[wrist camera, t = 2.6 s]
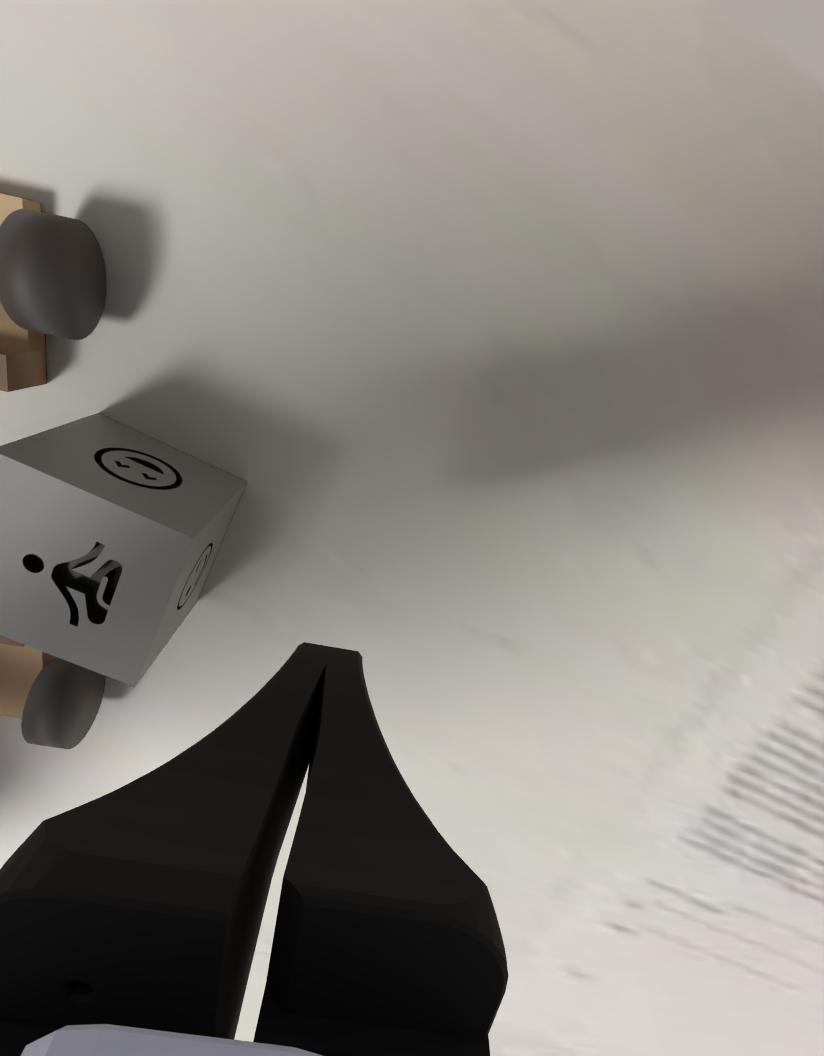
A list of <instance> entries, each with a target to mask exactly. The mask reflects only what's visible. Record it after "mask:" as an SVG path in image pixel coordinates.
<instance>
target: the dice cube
mask: <svg viewBox="0 0 824 1056" xmlns="http://www.w3.org/2000/svg"><path fill="white" fill-rule="evenodd" d="M246 483H247V481H245V480H242V479H240V478H238V477H236V476H234V475H232V474H229V473H227V472H225V471H223V470H221V469H219V468H217V467H214V466H212V465H210V464H208V463H206V462H204V461H201V460H199V459H197V458H195V457H193V456H191V455H188V454H186V453H184V452H182V451H180V450H178V449H175V448H173V447H171V446H169V445H167V444H165V443H163V442H160V441H158V440H156V439H154V438H152V437H150V436H147V435H145V434H143V433H141V432H139V431H137V430H134V429H132V428H130V427H128V426H126V425H124V424H121V423H119V422H117V421H115V420H113V419H111V418H108V417H106V416H104V415H102V414H100V413H97V414H94V415H91V416H88V417H85V418H82V419H79V420H76V421H73V422H71V423H68V424H65V425H62V426H59V427H56V428H53V429H50V430H47V431H44V432H41V433H38V434H35V435H32V436H29V437H26V438H23V439H20V440H17V441H14V442H11V443H8V444H5V445H3V446H0V635H1V636H4V637H6V638H9V639H11V640H14V641H17V642H19V643H22V644H24V645H27V646H30V647H32V648H35V649H37V650H40V651H43V652H45V653H48V654H50V655H53V656H55V657H58V658H61V659H63V660H66V661H68V662H71V663H74V664H76V665H79V666H81V667H84V668H87V669H89V670H92V671H94V672H97V673H99V674H102V675H105V676H107V677H110V678H112V679H115V680H118V681H120V682H123V683H125V684H128V685H131V686H133V687H135V686H136V685H137V683H138V682H139V681H140V679H141V678H142V676H143V675H144V674H145V672H146V671H147V670H148V668H149V667H150V666H151V664H152V663H153V661H154V660H155V659H156V657H157V656H158V655H159V653H160V652H161V650H162V649H163V648H164V646H165V645H166V644H167V642H168V641H169V639H170V638H171V637H172V635H173V634H174V633H175V631H176V630H177V629H178V627H179V626H180V624H181V623H182V622H183V620H184V619H185V618H186V616H187V615H188V613H189V612H190V611H191V609H192V608H193V607H194V605H195V604H196V603H197V601H198V599H199V596H200V594H201V591H202V589H203V587H204V584H205V582H206V579H207V577H208V575H209V572H210V570H211V567H212V565H213V563H214V560H215V558H216V555H217V553H218V551H219V548H220V546H221V543H222V541H223V539H224V536H225V534H226V531H227V529H228V527H229V524H230V522H231V519H232V517H233V515H234V512H235V510H236V507H237V505H238V503H239V500H240V498H241V495H242V493H243V491H244V488H245V486H246Z"/></svg>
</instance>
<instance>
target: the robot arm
mask: <svg viewBox="0 0 824 1056" xmlns="http://www.w3.org/2000/svg"><path fill="white" fill-rule="evenodd" d="M308 765H309V770H308V778H307V787H306V793H305V797H304V801H303V805H302V809H301V813H300V817H299V821H298V825H297V829H296V832H295V836H294V840H293V844H292V847H291V851H290V855H289V858H288V862H287V866H286V869H285V873H284V877H283V883H282V889H281V895H280V901H279V907H278V914H277V920H276V926H275V932H274V938H273V944H272V950H271V957H270V963H269V969H268V975H267V981H266V987H265V991H264V996H263V1000H262V1005H261V1009H260V1014H259V1018H258V1023H257V1027H256V1032H255V1037H254V1042H247V1041H239V1040H234V1037H235V1033H236V1029H237V1024H238V1020H239V1016H240V1011H241V1007H242V1003H243V998H244V994H245V990H246V985H247V981H248V977H249V973H250V968H251V964H252V960H253V956H254V951H255V947H256V943H257V938H258V934H259V930H260V926H261V922H262V917H263V913H264V909H265V905H266V901H267V896H268V892H269V888H270V884H271V880H272V876H273V872H274V869H275V866H276V862H277V859H278V855H279V852H280V849H281V846H282V843H283V840H284V837H285V834H286V831H287V828H288V825H289V822H290V819H291V816H292V813H293V810H294V807H295V804H296V801H297V798H298V795H299V792H300V789H301V786H302V783H303V780H304V777H305V774H306V771H307V768H308ZM507 980H508V971H507V960H506V954H505V948H504V944H503V940H502V935H501V931H500V928H499V924H498V920H497V916H496V913H495V910H494V906H493V903H492V900H491V897H490V894H489V891H488V888H487V886H486V885H485V883H484V882H483V881H482V880H481V879H480V878H479V877H478V876H477V875H476V874H475V873H474V872H473V871H472V870H471V869H470V868H469V866H468V865H467V864H466V863H465V862H464V861H463V860H462V859H461V858H460V857H459V856H458V855H457V854H456V853H455V852H454V851H453V849H452V848H451V847H450V846H449V845H448V843H447V842H446V841H445V840H444V838H443V837H442V836H441V835H440V833H439V832H438V831H437V829H436V828H435V826H434V825H433V824H432V822H431V821H430V819H429V818H428V816H427V815H426V813H425V812H424V811H423V809H422V808H421V806H420V805H419V803H418V802H417V800H416V799H415V798H414V796H413V794H412V793H411V791H410V789H409V787H408V786H407V784H406V782H405V781H404V779H403V777H402V775H401V773H400V772H399V770H398V768H397V766H396V764H395V762H394V760H393V758H392V756H391V754H390V752H389V750H388V747H387V745H386V743H385V740H384V738H383V736H382V733H381V731H380V728H379V726H378V723H377V720H376V717H375V714H374V711H373V708H372V705H371V702H370V699H369V695H368V692H367V688H366V683H365V679H364V674H363V667H362V656H361V655H360V653H359V652H358V651H352V650H346V649H340V648H335V647H329V646H323V645H317V644H311V643H305V642H304V643H302V644H301V645H299V646H298V647H297V649H296V650H295V651H294V653H293V654H292V655H291V657H290V658H289V659H288V660H287V662H286V663H285V664H284V665H283V666H282V667H281V669H280V670H279V671H278V672H277V673H276V674H275V675H274V676H273V677H272V678H271V679H270V680H269V681H268V682H267V683H266V685H265V686H264V687H263V688H262V689H261V690H260V691H259V692H258V693H257V694H256V695H255V696H254V697H252V698H251V699H250V700H249V701H248V702H247V703H246V704H245V705H243V706H242V707H241V708H240V709H239V710H238V711H237V712H236V713H235V714H233V715H232V716H231V717H230V718H229V719H227V720H226V721H225V722H224V723H223V724H221V725H220V726H219V727H218V728H216V729H215V730H214V731H212V732H211V733H210V734H208V735H207V736H206V737H204V738H203V739H201V740H200V741H199V742H197V743H196V744H194V745H193V746H191V747H190V748H188V749H187V750H185V751H184V752H182V753H181V754H179V755H178V756H176V757H175V758H173V759H172V760H170V761H168V762H167V763H165V764H163V765H162V766H160V767H158V768H157V769H155V770H153V771H151V772H150V773H148V774H146V775H144V776H142V777H140V778H138V779H136V780H134V781H133V782H131V783H129V784H127V785H125V786H123V787H121V788H119V789H117V790H115V791H113V792H111V793H109V794H107V795H104V796H102V797H100V798H98V799H95V800H93V801H91V802H88V803H86V804H83V805H81V806H79V807H76V808H74V809H71V810H69V811H67V812H64V813H62V814H59V815H57V816H54V817H52V818H49V819H46V820H44V821H43V822H42V823H41V824H40V825H39V826H38V827H37V828H36V829H35V830H34V832H33V833H32V834H31V835H30V836H29V837H28V838H27V839H26V840H25V842H24V843H23V844H22V845H21V846H20V847H19V848H18V849H17V850H16V851H15V852H14V854H13V855H12V856H11V857H10V858H9V859H8V860H7V862H6V863H5V864H4V865H3V867H2V868H1V869H0V1056H490V1049H489V1039H488V1033H489V1031H490V1028H491V1026H492V1023H493V1021H494V1018H495V1016H496V1013H497V1011H498V1008H499V1006H500V1004H501V1001H502V999H503V996H504V994H505V990H506V985H507Z"/></svg>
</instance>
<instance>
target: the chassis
mask: <svg viewBox="0 0 824 1056" xmlns="http://www.w3.org/2000/svg"><path fill="white" fill-rule="evenodd" d="M105 295H106V272H105V264H104V259H103V255H102V252H101V248H100V246H99V243H98V241H97V239H96V237H95V235H94V234H93V232H92V231H91V229H90V228H89V227H88V226H87V225H86V224H85V223H83V222H82V221H79V220H77V219H72V218H67V217H63V216H58V215H53V214H49V213H44V212H41V203H38V202H34V201H30V200H27V199H23V198H19V197H14V196H10V195H5V194H0V390H2V391H7V392H9V391H14V390H19V389H24V388H28V387H33V386H38V385H43V384H47V379H46V350H45V334H49V335H54V336H59V337H64V338H69V339H74V340H80V339H83V338H86V337H87V336H88V335H90V334H91V333H92V332H93V330H94V329H95V327H96V326H97V324H98V322H99V320H100V317H101V314H102V311H103V307H104V302H105ZM104 685H105V675H102V674H99V673H97V672H94V671H92V670H89V669H87V668H84V667H81V666H79V665H76V664H74V663H71V662H68V661H66V660H63V659H61V658H58V657H55V656H53V655H50V654H48V653H45V652H43V651H40V650H37V649H35V648H32V647H30V646H27V645H24V644H22V643H19V642H17V641H14V640H11V639H9V638H6V637H4V636H1V635H0V715H4V716H10V717H17V718H22V723H21V725H22V734H23V737H24V739H25V740H26V741H27V742H28V743H31V744H37V745H44V746H50V747H57V748H64V749H71V748H73V747H75V746H76V745H77V744H78V743H79V742H80V741H81V740H82V739H83V738H84V737H85V735H86V734H87V732H88V731H89V729H90V727H91V726H92V724H93V722H94V720H95V717H96V715H97V713H98V710H99V707H100V704H101V700H102V697H103V692H104Z"/></svg>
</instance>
